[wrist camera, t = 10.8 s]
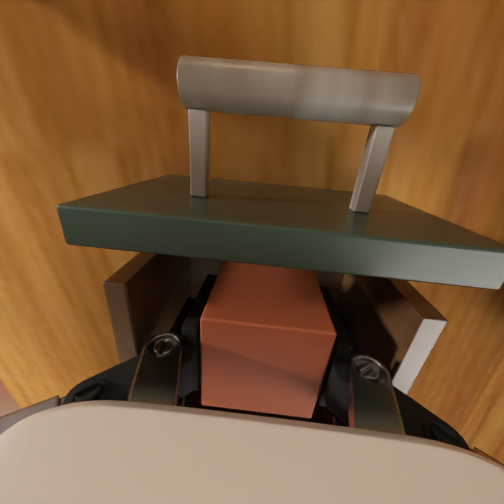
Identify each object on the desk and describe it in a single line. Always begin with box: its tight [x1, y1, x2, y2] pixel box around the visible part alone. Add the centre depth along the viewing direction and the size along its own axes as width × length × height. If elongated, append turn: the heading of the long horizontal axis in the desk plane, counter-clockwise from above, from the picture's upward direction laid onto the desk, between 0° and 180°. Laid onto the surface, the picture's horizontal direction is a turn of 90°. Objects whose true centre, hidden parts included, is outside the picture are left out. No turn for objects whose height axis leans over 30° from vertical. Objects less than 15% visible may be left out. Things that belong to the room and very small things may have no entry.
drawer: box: [57, 55, 504, 425], centre depth 12 cm, size 19×12×8 cm, turn 175°
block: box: [200, 261, 337, 418], centre depth 10 cm, size 4×4×4 cm
